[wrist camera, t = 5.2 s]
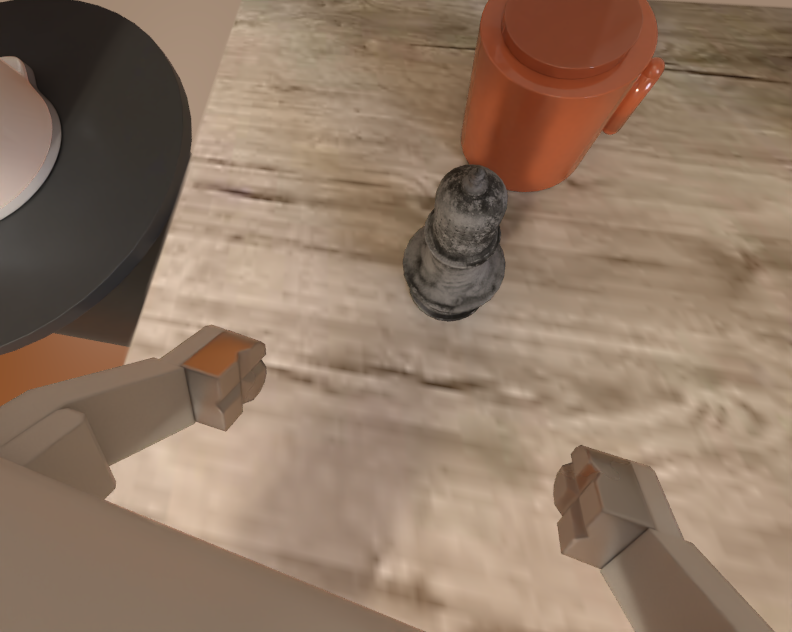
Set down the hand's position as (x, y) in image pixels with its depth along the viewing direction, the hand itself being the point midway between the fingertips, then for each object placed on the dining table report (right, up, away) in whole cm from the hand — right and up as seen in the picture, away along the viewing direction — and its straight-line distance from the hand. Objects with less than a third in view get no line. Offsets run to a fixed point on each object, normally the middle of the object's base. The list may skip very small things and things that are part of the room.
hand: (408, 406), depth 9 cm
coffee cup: (+9, +15, +17) cm, 25 cm away
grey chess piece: (+3, +4, +15) cm, 16 cm away
